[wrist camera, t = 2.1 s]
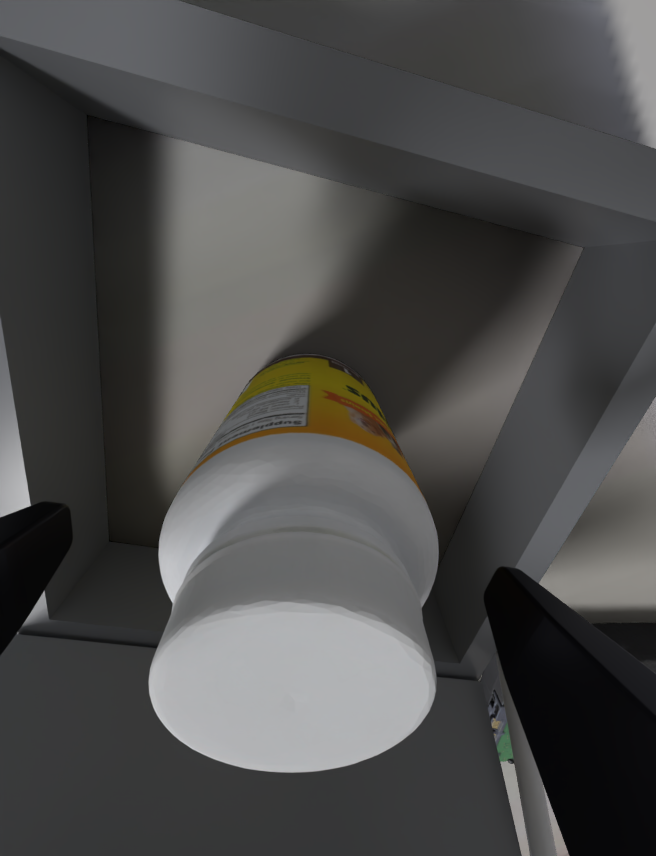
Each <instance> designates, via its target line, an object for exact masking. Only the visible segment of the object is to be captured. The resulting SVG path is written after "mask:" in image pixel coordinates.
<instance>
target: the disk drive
mask: <svg viewBox="0 0 656 856" xmlns="http://www.w3.org/2000/svg"><path fill="white" fill-rule="evenodd" d="M592 625H593V626H594V627H596V628H597V629H598V630H600V631H601V632H602V633H604V634H605V635H606V636H607V637H609V638H610V639H611V640H613V641H614V642H615V643H617V644H618V645H619V646H620V647H622V648H623V649H624V650H626V651H627V652H628V653H630V654H631V655H632V656H633V657H635V658H636V659H637V660H639V661H640V662H641V663H643V664H644V665H645V666H646V667H648V668H649V669H650V670H652V671H653V672H654V673H656V623H621V624H620V623H607V624H592ZM481 681H482V685H483V690H484V694H485V698H486V703H487V707H488V711H489V716H490V720H491V725H492V729H493V733H494V738H495V742H496V746H497V751H498V755H499V759H500V761H503V762H504V761H508V762H509V763H510V764H513V763H514V758H513V753H512V747H511V741H510V735H509V729H508V724H507V718H506V712H505V706H504V700H503V695H502V689H501V683H500V677H499V671H498V666H497V660H496V654H494V655H493V657H492V659H491V660H490V662H489V663H488V665H487V667H486V668H485V670H484V671H483V673H482V678H481Z"/></svg>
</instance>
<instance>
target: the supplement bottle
mask: <svg viewBox="0 0 656 856" xmlns="http://www.w3.org/2000/svg"><path fill="white" fill-rule="evenodd" d="M158 556H159V566H160V572H161V577H162V580H163V584H164V586H165V589H166V591H167V593H168V595H169V597H170V599H171V601H172V603H173V606H172V612H171V616H170V618H169V621H168V623H167V626H166V628H165V631H164V633H163V635H162V638H161V640H160V643H159V645H158V647H157V650H156V652H155V655H154V658H153V660H152V664H151V667H150V674H149V681H148V683H149V695H150V698H151V702H152V705H153V708H154V710H155V712H156V714H157V716H158V717H159V719H160V720H161V722H162V723H163V724H164V726H165V727H166V728H167V729H168V730H169V731H170V732H171V733H172V734H173V735H174V736H175V737H176V738H177V739H179V740H180V741H181V742H183V743H184V744H186V745H187V746H188V747H190V748H191V749H193V750H195V751H197V752H199V753H201V754H203V755H206V756H208V757H210V758H213V759H215V760H218V761H221V762H224V763H227V764H230V765H234V766H238V767H242V768H246V769H252V770H259V771H269V772H291V773H293V772H313V771H321V770H328V769H333V768H339V767H344V766H348V765H351V764H355V763H358V762H360V761H363V760H366V759H369V758H371V757H373V756H376V755H378V754H380V753H382V752H384V751H386V750H388V749H390V748H391V747H393V746H395V745H396V744H398V743H399V742H401V741H402V740H404V739H405V738H406V737H407V736H408V735H410V734H411V733H412V732H413V731H415V730H416V728H417V727H418V726H419V725H420V724H421V722H422V721H423V720H424V718H425V717H426V715H427V714H428V712H429V711H430V709H431V706H432V704H433V701H434V698H435V694H436V687H437V678H436V670H435V664H434V660H433V656H432V652H431V649H430V645H429V642H428V638H427V635H426V631H425V628H424V624H423V616H422V607H423V605H424V603H425V601H426V600H427V598H428V596H429V593H430V591H431V588H432V586H433V584H434V580H435V577H436V573H437V568H438V560H439V549H438V537H437V531H436V528H435V524H434V521H433V518H432V515H431V513H430V510H429V508H428V505H427V502H426V500H425V498H424V496H423V494H422V492H421V490H420V488H419V486H418V484H417V482H416V480H415V478H414V476H413V474H412V472H411V470H410V468H409V466H408V464H407V462H406V460H405V458H404V456H403V453H402V451H401V449H400V447H399V445H398V443H397V441H396V439H395V437H394V435H393V433H392V431H391V429H390V427H389V425H388V423H387V421H386V419H385V417H384V414H383V412H382V410H381V408H380V406H379V404H378V402H377V400H376V398H375V397H374V395H373V393H372V391H371V389H370V388H369V386H368V385H367V383H366V382H365V381H364V380H363V379H362V378H361V376H360V375H358V374H357V373H356V372H355V371H354V370H353V369H351V368H350V367H348V366H347V365H345V364H343V363H342V362H340V361H338V360H335V359H333V358H330V357H326V356H322V355H315V354H299V355H293V356H288V357H285V358H281V359H279V360H277V361H274V362H273V363H271V364H269V365H267V366H266V367H264V368H263V369H262V370H260V371H259V372H258V373H257V374H256V375H255V376H254V377H253V378H252V379H251V380H250V381H249V383H248V384H247V385H246V387H245V388H244V390H243V392H242V393H241V395H240V396H239V398H238V399H237V401H236V402H235V404H234V405H233V407H232V409H231V410H230V412H229V413H228V415H227V416H226V418H225V419H224V421H223V423H222V424H221V426H220V427H219V429H218V430H217V432H216V433H215V435H214V436H213V438H212V440H211V441H210V443H209V444H208V446H207V447H206V449H205V451H204V452H203V454H202V455H201V457H200V458H199V460H198V461H197V463H196V464H195V466H194V468H193V469H192V471H191V472H190V474H189V475H188V477H187V478H186V480H185V482H184V483H183V485H182V486H181V488H180V489H179V491H178V493H177V494H176V496H175V498H174V500H173V502H172V504H171V506H170V508H169V510H168V512H167V514H166V517H165V519H164V522H163V525H162V530H161V535H160V539H159V553H158Z"/></svg>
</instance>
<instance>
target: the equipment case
mask: <svg viewBox="0 0 656 856" xmlns="http://www.w3.org/2000/svg"><path fill="white" fill-rule="evenodd" d="M87 115H90V116H94V117H97V118H101V119H105V120H109V121H112V122H116V123H120V124H124V125H127V126H131V127H135V128H139V129H142V130H146V131H150V132H154V133H157V134H161V135H165V136H169V137H172V138H176V139H180V140H184V141H187V142H191V143H195V144H199V145H202V146H206V147H210V148H214V149H217V150H221V151H225V152H229V153H232V154H236V155H240V156H244V157H247V158H251V159H255V160H259V161H262V162H266V163H270V164H274V165H277V166H281V167H285V168H289V169H292V170H296V171H300V172H304V173H307V174H311V175H315V176H319V177H322V178H326V179H330V180H334V181H337V182H341V183H345V184H349V185H352V186H356V187H360V188H364V189H367V190H371V191H375V192H378V193H382V194H386V195H390V196H393V197H397V198H401V199H405V200H408V201H412V202H416V203H420V204H423V205H427V206H431V207H435V208H438V209H442V210H446V211H450V212H453V213H457V214H461V215H465V216H468V217H472V218H476V219H480V220H483V221H487V222H491V223H495V224H498V225H502V226H506V227H510V228H513V229H517V230H521V231H525V232H528V233H532V234H536V235H540V236H543V237H547V238H551V239H555V240H558V241H562V242H566V243H570V244H573V245H577V246H581V247H584V250H583V252H582V254H581V256H580V258H579V261H578V263H577V265H576V267H575V269H574V272H573V274H572V276H571V278H570V280H569V283H568V285H567V287H566V289H565V291H564V293H563V296H562V298H561V300H560V302H559V304H558V307H557V309H556V311H555V313H554V315H553V318H552V320H551V322H550V324H549V326H548V329H547V331H546V333H545V335H544V337H543V340H542V342H541V344H540V346H539V348H538V351H537V353H536V355H535V357H534V359H533V361H532V364H531V366H530V368H529V370H528V372H527V375H526V377H525V379H524V381H523V383H522V386H521V388H520V390H519V392H518V394H517V397H516V399H515V401H514V403H513V405H512V408H511V410H510V412H509V414H508V416H507V419H506V421H505V423H504V425H503V427H502V429H501V432H500V434H499V436H498V438H497V440H496V443H495V445H494V447H493V449H492V451H491V454H490V456H489V458H488V460H487V462H486V465H485V467H484V469H483V471H482V473H481V476H480V478H479V480H478V482H477V484H476V487H475V489H474V491H473V493H472V495H471V498H470V500H469V502H468V504H467V506H466V508H465V511H464V513H463V515H462V517H461V519H460V522H459V524H458V526H457V528H456V530H455V533H454V535H453V537H452V539H451V541H450V544H449V546H448V548H447V550H446V552H445V555H444V557H443V559H442V561H441V563H440V566H439V568H438V570H437V573H436V577H435V580H434V584H433V586H432V588H431V591H430V593H429V596H428V598H427V600H426V601H425V603H424V605H423V607H422V616H423V624H424V628H425V631H426V635H427V638H428V642H429V645H430V649H431V652H432V656H433V660H434V664H435V670H436V678H437V687H436V694H435V698H434V701H433V704H432V706H431V709H430V711H429V712H428V714H427V715H426V717H425V718H424V720H423V721H422V722H421V724H420V725H419V726H418V727H417V728H416V730H415V731H413V732H412V733H411V734H410V735H408V736H407V737H406V738H405V739H404V740H402V741H401V742H399V743H398V744H396V745H395V746H393V747H391V748H390V749H388V750H386V751H384V752H382V753H380V754H378V755H376V756H373V757H371V758H369V759H366V760H363V761H360V762H358V763H355V764H351V765H348V766H344V767H339V768H333V769H328V770H321V771H313V772H293V773H291V772H269V771H259V770H252V769H246V768H242V767H238V766H234V765H230V764H227V763H224V762H221V761H218V760H215V759H213V758H210V757H208V756H206V755H203V754H201V753H199V752H197V751H195V750H193V749H191V748H190V747H188V746H187V745H186V744H184V743H183V742H181V741H180V740H179V739H177V738H176V737H175V736H174V735H173V734H172V733H171V732H170V731H169V730H168V729H167V728H166V727H165V726H164V724H163V723H162V722H161V720H160V719H159V717H158V716H157V714H156V712H155V710H154V708H153V705H152V702H151V698H150V695H149V683H148V681H149V674H150V667H151V664H152V660H153V658H154V655H155V652H156V650H157V647H158V645H159V643H160V640H161V638H162V635H163V633H164V631H165V628H166V626H167V623H168V621H169V618H170V616H171V612H172V606H173V603H172V601H171V599H170V597H169V595H168V593H167V591H166V589H165V586H164V584H163V580H162V577H161V572H160V566H159V556H158V553H159V548H153V547H145V546H138V545H130V544H123V543H115V542H109V531H108V512H107V493H106V474H105V455H104V436H103V417H102V398H101V379H100V360H99V341H98V322H97V303H96V284H95V265H94V245H93V226H92V207H91V188H90V169H89V150H88V131H87ZM655 397H656V149H654V148H651V147H648V146H645V145H641V144H638V143H635V142H632V141H629V140H625V139H622V138H619V137H616V136H612V135H609V134H606V133H603V132H600V131H596V130H593V129H590V128H587V127H584V126H580V125H577V124H574V123H571V122H568V121H564V120H561V119H558V118H555V117H552V116H548V115H545V114H542V113H539V112H535V111H532V110H529V109H526V108H523V107H519V106H516V105H513V104H510V103H507V102H503V101H500V100H497V99H494V98H491V97H487V96H484V95H481V94H478V93H474V92H471V91H468V90H465V89H462V88H458V87H455V86H452V85H449V84H446V83H442V82H439V81H436V80H433V79H430V78H426V77H423V76H420V75H417V74H413V73H410V72H407V71H404V70H401V69H397V68H394V67H391V66H388V65H385V64H381V63H378V62H375V61H372V60H369V59H365V58H362V57H359V56H356V55H352V54H349V53H346V52H343V51H340V50H336V49H333V48H330V47H327V46H324V45H320V44H317V43H314V42H311V41H308V40H304V39H301V38H298V37H295V36H291V35H288V34H285V33H282V32H279V31H275V30H272V29H269V28H266V27H263V26H259V25H256V24H253V23H250V22H247V21H243V20H240V19H237V18H234V17H230V16H227V15H224V14H221V13H218V12H214V11H211V10H208V9H205V8H202V7H198V6H195V5H192V4H189V3H186V2H182V1H179V0H0V517H3V516H5V515H8V514H10V513H13V512H16V511H18V510H21V509H23V508H26V507H29V506H31V505H34V504H36V503H39V502H42V501H51V502H58V503H64V504H67V505H68V506H69V507H70V510H71V519H72V528H73V542H72V545H71V547H70V549H69V551H68V553H67V554H66V556H65V558H64V559H63V561H62V563H61V564H60V566H59V567H58V569H57V571H56V572H55V574H54V576H53V577H52V579H51V580H50V582H49V584H48V585H47V587H46V589H45V590H44V592H43V594H42V595H41V597H40V598H39V600H38V602H37V603H36V605H35V607H34V608H33V610H32V611H31V613H30V615H29V616H28V618H27V619H26V621H25V622H24V624H23V625H22V627H21V628H20V630H19V631H18V633H17V634H16V635H15V637H14V638H13V640H12V641H11V642H10V644H9V645H8V646H7V648H6V649H5V650H4V652H3V653H2V654H1V656H0V856H522V855H521V851H520V847H519V842H518V838H517V834H516V829H515V825H514V821H513V816H512V812H511V807H510V803H509V799H508V794H507V790H506V786H505V781H504V777H503V773H502V768H501V764H500V759H499V755H498V751H497V746H496V742H495V738H494V733H493V729H492V725H491V720H490V716H489V711H488V707H487V703H486V698H485V694H484V690H483V685H482V681H478V679H479V678H480V676H481V675H482V673H483V671H484V670H485V668H486V667H487V665H488V663H489V662H490V660H491V659H492V657H493V655H494V654H496V660H497V666H498V671H499V677H500V683H501V689H502V695H503V700H504V706H505V712H506V718H507V724H508V729H509V735H510V741H511V747H512V753H513V758H514V764H515V770H516V776H517V782H518V787H519V793H520V799H521V805H522V811H523V816H524V822H525V828H526V834H527V840H528V845H529V851H530V856H557V852H556V847H555V842H554V837H553V832H552V827H551V822H550V818H549V813H548V808H547V803H546V798H545V793H544V788H543V783H542V779H541V777H540V774H539V771H538V768H537V766H536V763H535V760H534V757H533V755H532V752H531V749H530V746H529V744H528V741H527V738H526V736H525V733H524V730H523V727H522V725H521V722H520V719H519V716H518V714H517V711H516V708H515V706H514V703H513V700H512V697H511V695H510V692H509V689H508V686H507V683H506V680H505V677H504V674H503V671H502V667H501V664H500V660H499V657H498V653H497V649H496V646H495V642H494V638H493V635H492V631H491V627H490V624H489V620H488V616H487V613H486V609H485V605H484V600H483V596H484V591H485V589H486V587H487V585H488V583H489V581H490V580H491V578H492V576H493V574H494V572H495V571H496V569H497V568H499V567H500V566H506V567H513V568H518V569H520V570H521V571H523V572H524V573H525V574H527V575H528V576H529V577H531V578H532V579H533V580H534V581H536V582H537V583H538V584H539V582H540V580H541V579H542V577H543V576H544V574H545V572H546V571H547V569H548V568H549V566H550V564H551V563H552V561H553V560H554V558H555V556H556V555H557V553H558V552H559V550H560V548H561V547H562V545H563V544H564V542H565V540H566V539H567V537H568V536H569V534H570V532H571V531H572V529H573V528H574V526H575V524H576V523H577V521H578V520H579V518H580V516H581V515H582V513H583V512H584V510H585V508H586V507H587V505H588V504H589V502H590V500H591V499H592V497H593V496H594V494H595V492H596V491H597V489H598V488H599V486H600V484H601V483H602V481H603V480H604V478H605V476H606V475H607V473H608V472H609V470H610V469H611V467H612V465H613V464H614V462H615V461H616V459H617V457H618V456H619V454H620V453H621V451H622V449H623V448H624V446H625V445H626V443H627V441H628V440H629V438H630V437H631V435H632V433H633V432H634V430H635V429H636V427H637V425H638V424H639V422H640V421H641V419H642V417H643V416H644V414H645V413H646V411H647V409H648V408H649V406H650V405H651V403H652V401H653V400H654V398H655Z"/></svg>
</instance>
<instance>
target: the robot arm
mask: <svg viewBox="0 0 656 856" xmlns="http://www.w3.org/2000/svg"><path fill="white" fill-rule="evenodd" d="M72 542H73V528H72V519H71V510H70V507H69V506H68V505H67V504H64V503H58V502H51V501H42V502H39V503H36V504H34V505H31V506H29V507H26V508H23V509H21V510H18V511H16V512H13V513H10V514H8V515H5V516H3V517H0V656H1V654H2V653H3V652H4V650H5V649H6V648H7V646H8V645H9V644H10V642H11V641H12V640H13V638H14V637H15V635H16V634H17V633H18V631H19V630H20V628H21V627H22V625H23V624H24V622H25V621H26V619H27V618H28V616H29V615H30V613H31V611H32V610H33V608H34V607H35V605H36V603H37V602H38V600H39V598H40V597H41V595H42V594H43V592H44V590H45V589H46V587H47V585H48V584H49V582H50V580H51V579H52V577H53V576H54V574H55V572H56V571H57V569H58V567H59V566H60V564H61V563H62V561H63V559H64V558H65V556H66V554H67V553H68V551H69V549H70V547H71V545H72ZM483 600H484V605H485V609H486V613H487V616H488V620H489V624H490V627H491V631H492V635H493V638H494V642H495V646H496V649H497V653H498V657H499V660H500V664H501V667H502V671H503V674H504V677H505V680H506V683H507V686H508V689H509V692H510V695H511V697H512V700H513V703H514V706H515V708H516V711H517V714H518V716H519V719H520V722H521V725H522V727H523V730H524V733H525V736H526V738H527V741H528V744H529V746H530V749H531V752H532V755H533V757H534V760H535V763H536V766H537V768H538V771H539V774H540V777H541V779H542V782H543V785H544V787H545V790H546V793H547V796H548V798H549V801H550V804H551V807H552V809H553V812H554V815H555V817H556V820H557V823H558V826H559V828H560V831H561V834H562V837H563V839H564V842H565V845H566V848H567V850H568V853H569V856H656V673H654V672H653V671H652V670H650V669H649V668H648V667H646V666H645V665H644V664H643V663H641V662H640V661H639V660H637V659H636V658H635V657H633V656H632V655H631V654H630V653H628V652H627V651H626V650H624V649H623V648H622V647H620V646H619V645H618V644H617V643H615V642H614V641H613V640H611V639H610V638H609V637H607V636H606V635H605V634H604V633H602V632H601V631H600V630H598V629H597V628H596V627H594V626H593V625H592V624H590V623H589V622H588V621H587V620H585V619H584V618H583V617H581V616H580V615H579V614H577V613H576V612H575V611H574V610H572V609H571V608H570V607H568V606H567V605H566V604H564V603H563V602H562V601H561V600H559V599H558V598H557V597H555V596H554V595H553V594H551V593H550V592H549V591H547V590H546V589H545V588H544V587H542V586H541V585H540V584H538V583H537V582H536V581H534V580H533V579H532V578H531V577H529V576H528V575H527V574H525V573H524V572H523V571H521V570H520V569H518V568H513V567H506V566H500V567H499V568H497V569H496V571H495V572H494V574H493V576H492V578H491V580H490V581H489V583H488V585H487V587H486V589H485V591H484V596H483Z"/></svg>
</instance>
